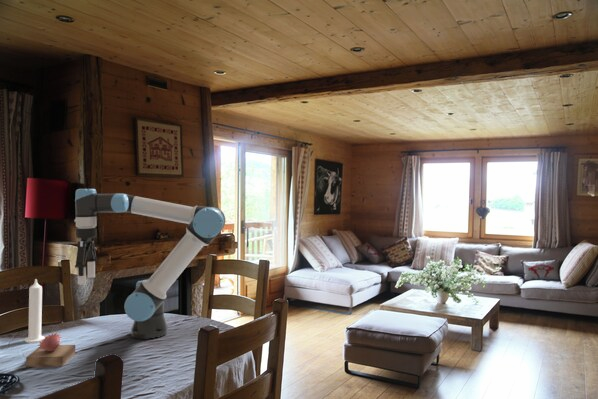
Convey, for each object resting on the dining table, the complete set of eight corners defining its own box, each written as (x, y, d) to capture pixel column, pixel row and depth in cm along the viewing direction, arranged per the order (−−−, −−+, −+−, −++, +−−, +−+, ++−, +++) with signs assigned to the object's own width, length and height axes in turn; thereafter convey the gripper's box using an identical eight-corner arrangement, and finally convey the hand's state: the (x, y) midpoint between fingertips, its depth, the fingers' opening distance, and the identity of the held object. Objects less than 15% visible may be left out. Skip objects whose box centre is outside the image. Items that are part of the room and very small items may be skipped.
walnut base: (75, 355, 168) (75, 344, 168) (62, 367, 156) (62, 356, 156) (41, 355, 167) (41, 345, 167) (25, 368, 155) (26, 357, 155)
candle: (48, 338, 184) (49, 278, 184) (33, 343, 177) (34, 281, 177) (36, 336, 186) (37, 276, 186) (20, 341, 180) (21, 279, 179)
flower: (62, 336, 159) (56, 325, 162) (39, 349, 155) (33, 337, 158) (67, 347, 165) (61, 336, 167) (45, 360, 160) (39, 348, 163)
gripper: (84, 225, 189) (85, 275, 189) (65, 230, 164) (66, 287, 165) (103, 225, 190) (104, 274, 191) (87, 230, 166) (88, 286, 166)
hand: (86, 280), depth 178 cm, fingers open, 13 cm apart
